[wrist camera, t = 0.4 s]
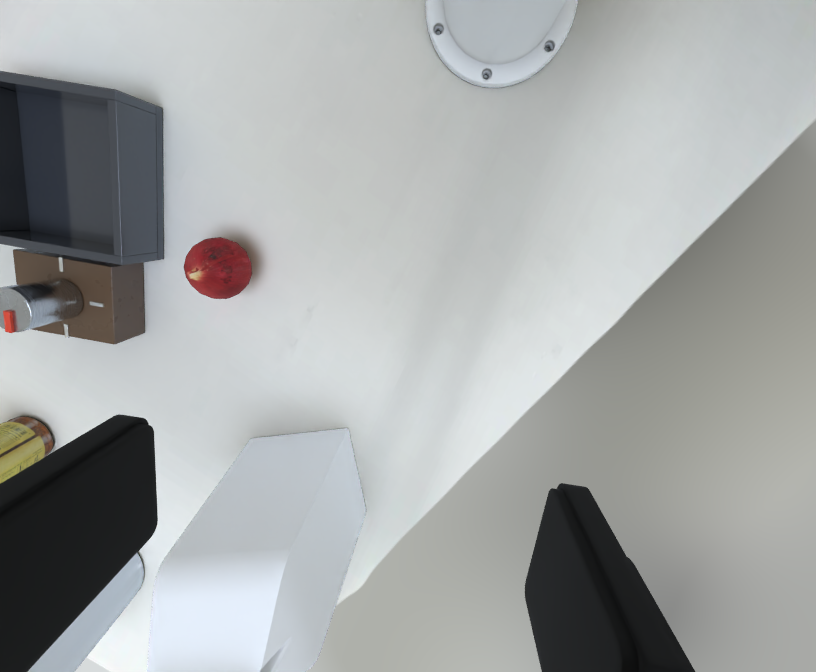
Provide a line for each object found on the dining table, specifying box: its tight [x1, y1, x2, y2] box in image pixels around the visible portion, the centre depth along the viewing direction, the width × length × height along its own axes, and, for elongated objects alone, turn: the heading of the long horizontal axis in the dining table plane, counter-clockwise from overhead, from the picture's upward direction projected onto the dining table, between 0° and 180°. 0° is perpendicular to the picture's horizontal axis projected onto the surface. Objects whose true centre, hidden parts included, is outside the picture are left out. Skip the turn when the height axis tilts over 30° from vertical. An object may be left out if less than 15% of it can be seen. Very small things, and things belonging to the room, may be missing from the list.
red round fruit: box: [184, 237, 252, 299], centre depth 40 cm, size 6×6×8 cm
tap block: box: [13, 249, 145, 344], centre depth 43 cm, size 8×10×5 cm
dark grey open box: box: [0, 71, 164, 265], centre depth 39 cm, size 15×15×6 cm
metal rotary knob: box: [0, 278, 83, 333], centre depth 38 cm, size 4×4×6 cm
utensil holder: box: [28, 553, 144, 672], centre depth 48 cm, size 15×15×18 cm
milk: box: [147, 428, 367, 672], centre depth 38 cm, size 12×12×26 cm
